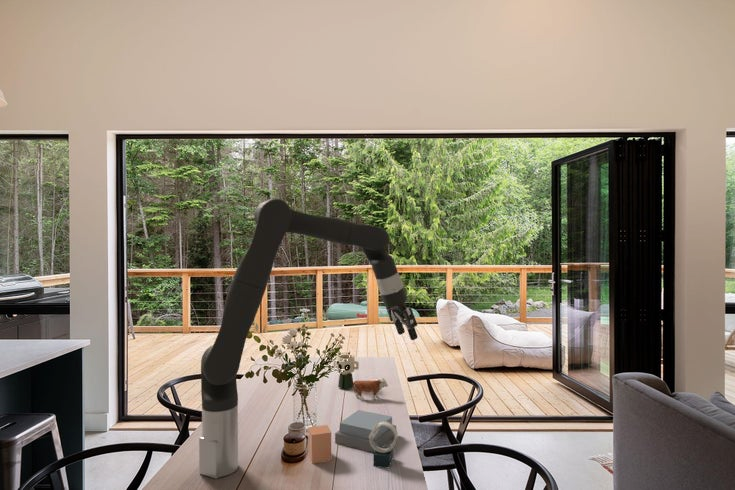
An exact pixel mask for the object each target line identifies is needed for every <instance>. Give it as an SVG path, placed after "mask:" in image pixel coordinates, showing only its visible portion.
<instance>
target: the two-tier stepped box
mask: <svg viewBox="0 0 735 490" xmlns="http://www.w3.org/2000/svg"><path fill="white" fill-rule="evenodd" d="M381 421H384V422H389V423H391V424H392V425H393V426H394V427H395V428H396V429H397V425H396V424H393V416H392V415H391V416H390V415H387V414H381V413H377V412H371V411H367V410H361V409H357V410H356V411H355V412H353V413H352V414H351V415H349V416H348V417H346V418H345V419H343V420H342V421H340V422H339V430H338V431H336V432H335V433H334V436H335V437H334V443H335V444H336V445H337V444H338V445H341V446H345V447H346V446H347V447H350V448H355V449H359V450H363V451H367V452H369V453H370V452H371V453H373V454H374V453H375V451H376V450H374V449H373V448H372V446H371V444H370V442H369V440H370V438H369V435H370V434H371V432H372V430H373V429H374V427H375V425H376V424H377V423H380V422H381ZM394 436H395V434H394V432H393V431H392V429H390V428H389V427H387V426H381V428H380V430H379V431H378V433H377V435H376V436H375V438H374V439H373V441H374V443H375V444H376V445H377V446H384V445H385V444H386V445H387V444H388V443H389V442H391V440H392V439H394ZM386 445H385V446H386ZM385 446H384V447H385Z"/></svg>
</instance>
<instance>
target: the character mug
mask: <svg viewBox="0 0 735 490" xmlns="http://www.w3.org/2000/svg"><path fill="white" fill-rule="evenodd" d="M340 355H341V356H339V355H337V357H336V360H338V361H342V360H343V359H348V358H349V355H348V354H346V353H345V354H343V353H342V354H340ZM350 356H351V357H352V358H350V359H348V361H347V362H340V363H339V364H338V365H337V362H336V361H334V360H333V363H332V364H333V365H335V364H336V365H337V366H336V368H335V369H336V370H337V369H338V368H340V369H345V370H344V372H341V373H339V377H338V383H337V386H338V388H340V389H343V388H344V389H346V390H348V389H352V388H353V383H354V379H353V374H352V373H353V372H355V370H359V365H360V363H359V361H355V355H353V354H350ZM355 365H356V366H355ZM347 366H348V369H346V367H347Z"/></svg>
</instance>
